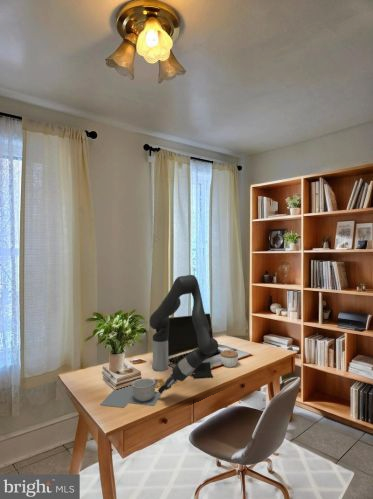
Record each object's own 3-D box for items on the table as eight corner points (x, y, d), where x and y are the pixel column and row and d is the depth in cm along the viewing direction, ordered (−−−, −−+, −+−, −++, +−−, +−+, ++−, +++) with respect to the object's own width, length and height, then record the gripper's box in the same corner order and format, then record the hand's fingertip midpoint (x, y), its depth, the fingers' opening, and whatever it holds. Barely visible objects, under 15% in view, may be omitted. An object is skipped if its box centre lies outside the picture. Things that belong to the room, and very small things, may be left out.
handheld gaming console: (195, 377, 173) (194, 359, 179) (191, 381, 179) (190, 363, 185) (214, 378, 176) (212, 360, 182) (210, 381, 182) (208, 364, 188)
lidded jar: (216, 364, 195) (216, 349, 195) (229, 360, 201) (229, 346, 201) (229, 370, 186) (229, 354, 186) (241, 366, 193) (241, 350, 193)
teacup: (139, 406, 145) (138, 389, 145) (128, 397, 154) (128, 380, 154) (164, 397, 154) (164, 381, 153) (153, 389, 162) (153, 373, 162)
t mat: (119, 384, 169) (119, 383, 169) (164, 388, 163) (164, 388, 163) (99, 404, 147) (99, 404, 147) (151, 411, 142) (151, 410, 142)
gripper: (182, 357, 156) (158, 379, 159) (175, 367, 144) (149, 391, 146) (192, 368, 155) (168, 391, 158) (186, 380, 143) (160, 404, 145)
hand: (159, 391), depth 152 cm, fingers closed
